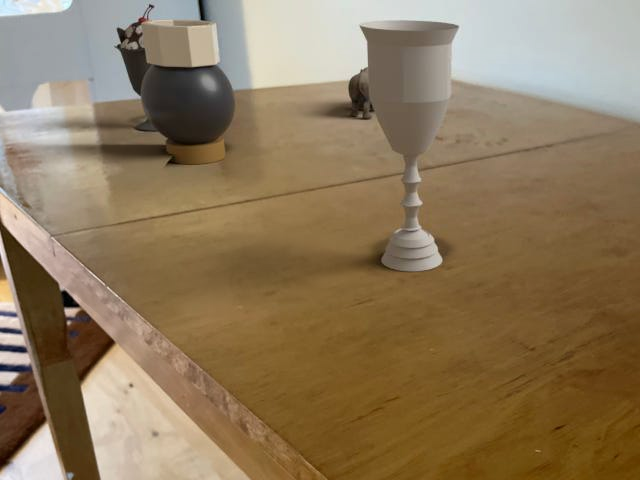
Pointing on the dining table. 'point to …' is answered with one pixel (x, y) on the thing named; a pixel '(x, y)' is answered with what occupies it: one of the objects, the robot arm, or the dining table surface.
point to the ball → (189, 110)
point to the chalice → (410, 115)
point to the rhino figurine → (360, 94)
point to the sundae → (135, 58)
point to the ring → (180, 43)
